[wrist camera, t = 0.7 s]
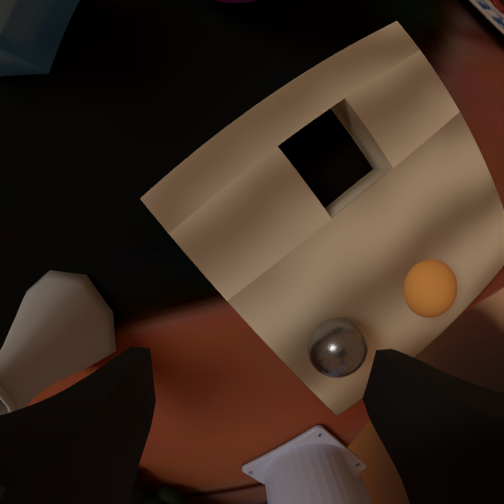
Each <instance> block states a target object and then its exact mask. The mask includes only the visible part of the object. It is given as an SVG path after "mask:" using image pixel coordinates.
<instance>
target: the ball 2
mask: <svg viewBox="0 0 504 504" xmlns="http://www.w3.org/2000/svg"><path fill="white" fill-rule="evenodd" d="M403 293H404V298H405V301H406V303H407V305H408V306H409V308H410V309H411V310H412V311H413V312H414V313H416V314H417V315H419V316H422V317H427V318H431V317H437V316H439V315H442V314H443V313H445V312H446V311H447V310H448V309H449V308H450V307H451V306H452V304H453V302H454V300H455V297H456V294H457V282H456V278H455V275H454V273H453V271H452V270H451V269H450V268H449V267H448V266H447V265H446V264H445V263H443V262H441V261H438V260H433V259H429V260H424V261H421V262H419V263H417V264H416V265H414V266H413V267H412V268H411V269H410V271H409V272H408V274H407V276H406V278H405V281H404V286H403Z"/></svg>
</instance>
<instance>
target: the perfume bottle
mask: <svg viewBox="0 0 504 504" xmlns="http://www.w3.org/2000/svg"><path fill="white" fill-rule="evenodd" d="M79 1H80V0H0V76H12V75H28V74H49V71H50V69H51V66H52V63H53V60H54V58H55V55H56V52H57V50H58V47H59V45H60V42H61V40H62V37H63V35H64V33H65V30H66V28H67V26H68V24H69V21H70V19H71V17H72V15H73V13H74V11H75V9H76V7H77V5H78V3H79Z"/></svg>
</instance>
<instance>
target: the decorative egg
mask: <svg viewBox="0 0 504 504" xmlns="http://www.w3.org/2000/svg"><path fill="white" fill-rule="evenodd" d="M215 1H219V2H225V3H246V2H252V1H257V0H215Z"/></svg>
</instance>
